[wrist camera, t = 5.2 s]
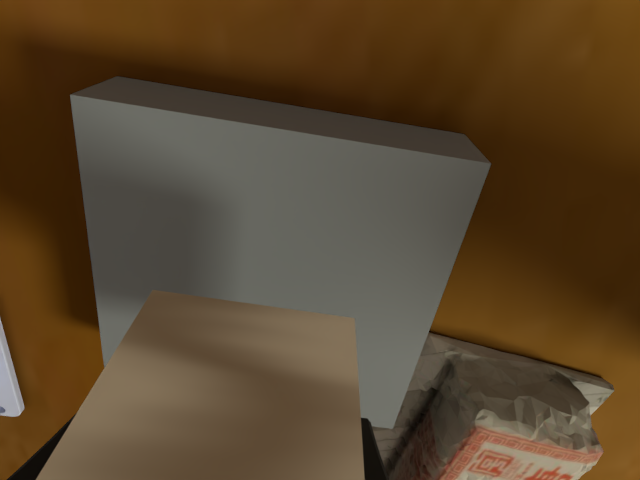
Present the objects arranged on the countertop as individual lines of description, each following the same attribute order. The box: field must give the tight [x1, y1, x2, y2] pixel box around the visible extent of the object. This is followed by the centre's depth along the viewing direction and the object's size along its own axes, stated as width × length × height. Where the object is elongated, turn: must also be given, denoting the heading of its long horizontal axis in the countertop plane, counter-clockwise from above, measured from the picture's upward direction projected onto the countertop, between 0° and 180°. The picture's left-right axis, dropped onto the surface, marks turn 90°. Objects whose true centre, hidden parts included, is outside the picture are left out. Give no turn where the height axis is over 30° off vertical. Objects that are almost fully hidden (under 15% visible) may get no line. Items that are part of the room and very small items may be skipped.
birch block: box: [36, 290, 365, 480], centre depth 10 cm, size 5×5×5 cm
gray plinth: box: [70, 76, 491, 429], centre depth 17 cm, size 12×12×3 cm
